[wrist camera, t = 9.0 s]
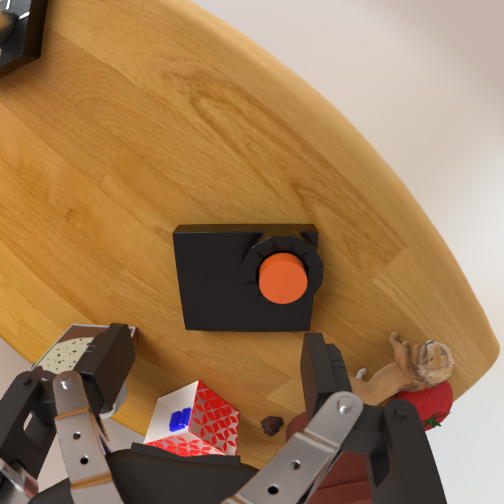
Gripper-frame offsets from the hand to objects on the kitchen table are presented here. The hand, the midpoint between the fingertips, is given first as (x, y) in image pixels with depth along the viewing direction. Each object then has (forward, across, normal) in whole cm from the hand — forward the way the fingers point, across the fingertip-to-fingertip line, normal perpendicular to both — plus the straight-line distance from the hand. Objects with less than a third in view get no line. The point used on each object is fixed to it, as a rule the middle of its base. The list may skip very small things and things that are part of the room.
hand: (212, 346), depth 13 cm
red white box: (+16, +6, +24) cm, 29 cm away
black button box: (+15, -1, +4) cm, 15 cm away
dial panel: (+15, +25, -25) cm, 38 cm away
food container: (+15, +16, +14) cm, 26 cm away
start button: (+11, -4, +2) cm, 12 cm away
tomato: (+15, -24, +21) cm, 36 cm away
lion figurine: (+15, -16, +13) cm, 26 cm away
